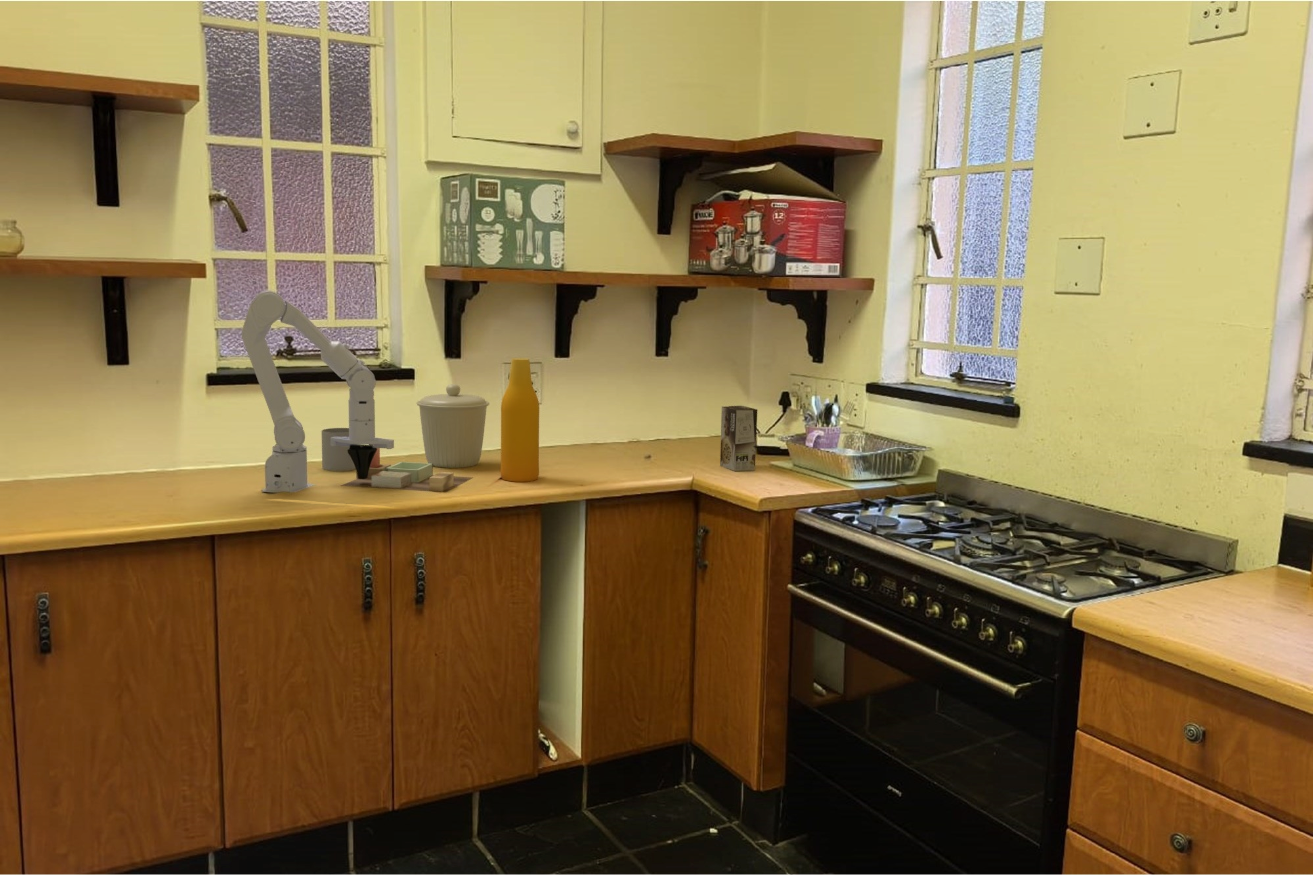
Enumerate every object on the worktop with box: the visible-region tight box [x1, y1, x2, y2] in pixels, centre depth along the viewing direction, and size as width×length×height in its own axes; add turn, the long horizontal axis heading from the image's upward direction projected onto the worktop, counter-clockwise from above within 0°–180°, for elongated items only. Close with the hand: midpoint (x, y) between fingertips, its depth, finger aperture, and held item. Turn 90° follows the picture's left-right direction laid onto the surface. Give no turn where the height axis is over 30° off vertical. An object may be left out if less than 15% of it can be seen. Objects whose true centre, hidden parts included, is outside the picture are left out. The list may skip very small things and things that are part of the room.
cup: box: [321, 427, 356, 472], centre depth 257 cm, size 8×8×10 cm
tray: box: [385, 461, 434, 482], centre depth 247 cm, size 9×8×3 cm
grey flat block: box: [372, 471, 411, 488], centre depth 238 cm, size 6×7×2 cm
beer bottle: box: [500, 357, 540, 483], centre depth 251 cm, size 9×9×29 cm
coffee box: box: [719, 405, 759, 472], centre depth 274 cm, size 9×6×16 cm
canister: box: [416, 383, 490, 469], centre depth 266 cm, size 18×18×21 cm
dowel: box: [370, 448, 381, 468], centre depth 247 cm, size 3×3×7 cm
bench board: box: [340, 463, 474, 493], centre depth 243 cm, size 18×26×4 cm
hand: (362, 478), depth 239 cm, fingers closed
